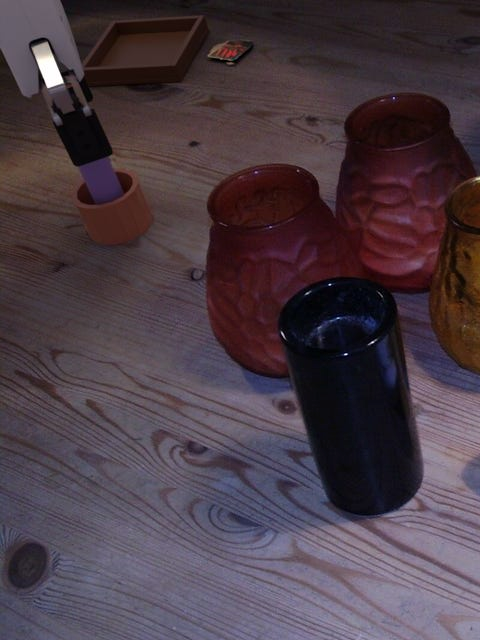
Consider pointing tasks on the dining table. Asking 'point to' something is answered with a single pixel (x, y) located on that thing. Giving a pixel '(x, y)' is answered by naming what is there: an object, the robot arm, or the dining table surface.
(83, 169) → the glue stick
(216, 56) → the matchbox
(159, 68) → the tray
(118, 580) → the dining table surface
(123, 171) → the cup
